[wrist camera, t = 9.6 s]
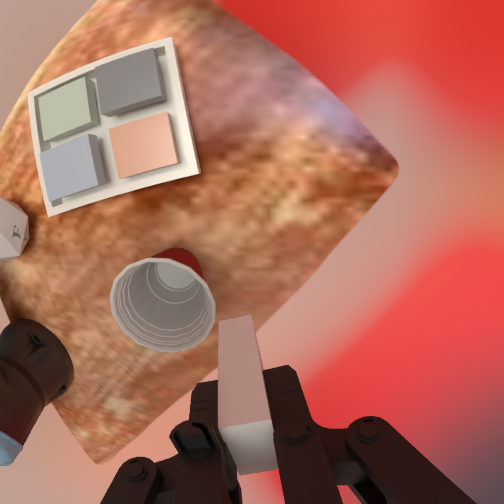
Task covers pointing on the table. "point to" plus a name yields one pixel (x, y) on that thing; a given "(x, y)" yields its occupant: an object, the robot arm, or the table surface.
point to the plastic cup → (163, 302)
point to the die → (12, 230)
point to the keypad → (172, 105)
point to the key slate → (72, 167)
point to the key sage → (68, 110)
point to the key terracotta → (144, 145)
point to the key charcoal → (129, 83)
